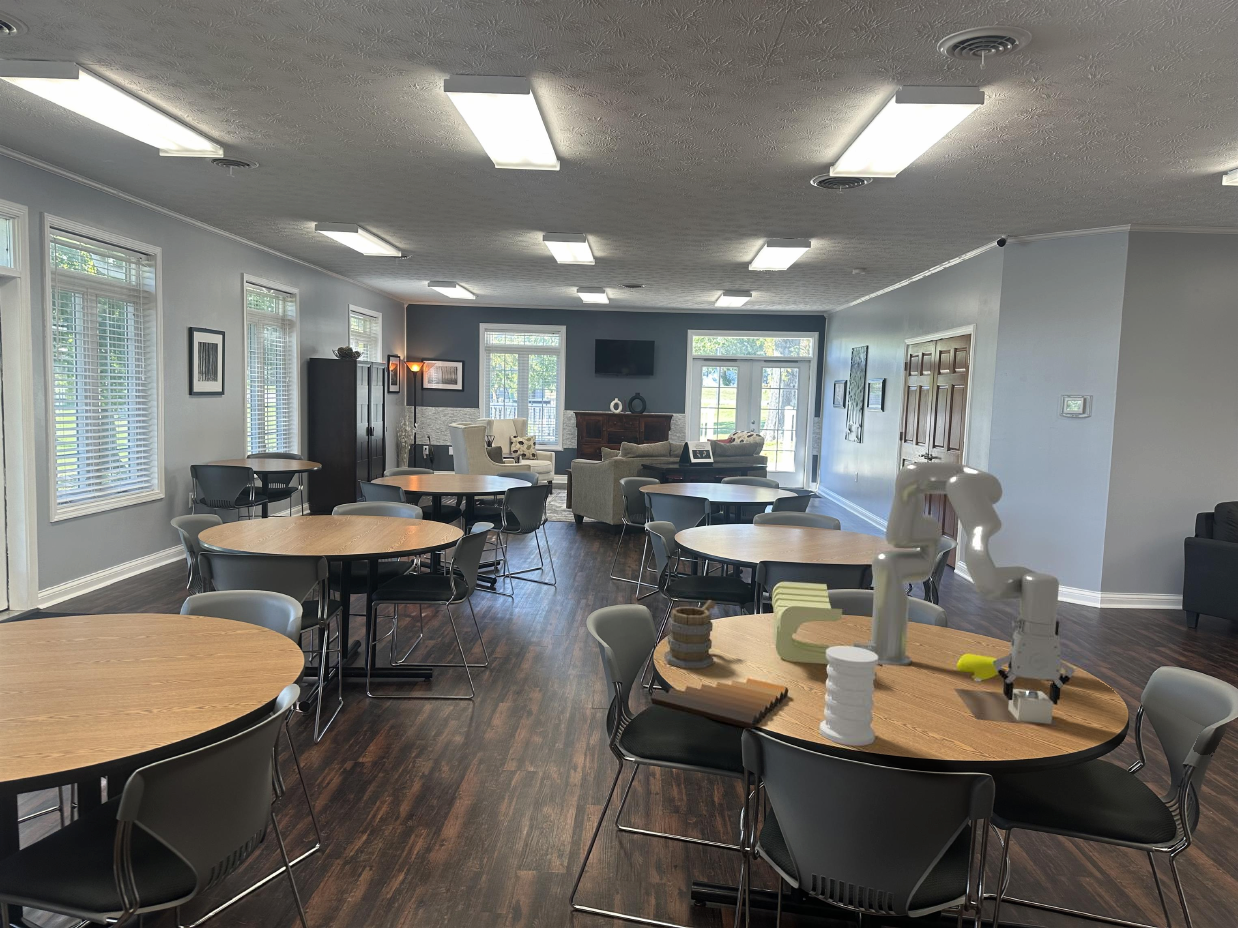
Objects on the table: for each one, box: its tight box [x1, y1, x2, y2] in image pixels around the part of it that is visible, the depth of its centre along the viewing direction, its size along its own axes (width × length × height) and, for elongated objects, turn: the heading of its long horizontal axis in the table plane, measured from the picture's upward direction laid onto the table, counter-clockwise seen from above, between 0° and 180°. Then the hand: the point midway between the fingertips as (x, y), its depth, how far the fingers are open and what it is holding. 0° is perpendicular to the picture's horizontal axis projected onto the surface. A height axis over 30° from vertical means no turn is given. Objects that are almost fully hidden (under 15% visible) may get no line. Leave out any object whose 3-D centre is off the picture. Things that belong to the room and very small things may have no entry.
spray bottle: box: [956, 653, 1000, 682], centre depth 213 cm, size 3×11×24 cm
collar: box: [1008, 688, 1054, 724], centre depth 181 cm, size 7×7×5 cm
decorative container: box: [819, 645, 879, 747], centre depth 170 cm, size 12×12×18 cm
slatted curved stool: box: [771, 581, 843, 665], centre depth 225 cm, size 30×16×18 cm, turn 173°
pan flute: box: [650, 678, 789, 730], centre depth 187 cm, size 25×3×25 cm
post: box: [1025, 688, 1038, 699], centre depth 181 cm, size 2×2×6 cm
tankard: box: [664, 599, 717, 670], centre depth 218 cm, size 20×13×15 cm, turn 143°
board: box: [953, 688, 1061, 728], centre depth 187 cm, size 18×20×2 cm
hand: (1030, 700), depth 181 cm, fingers open, 9 cm apart
